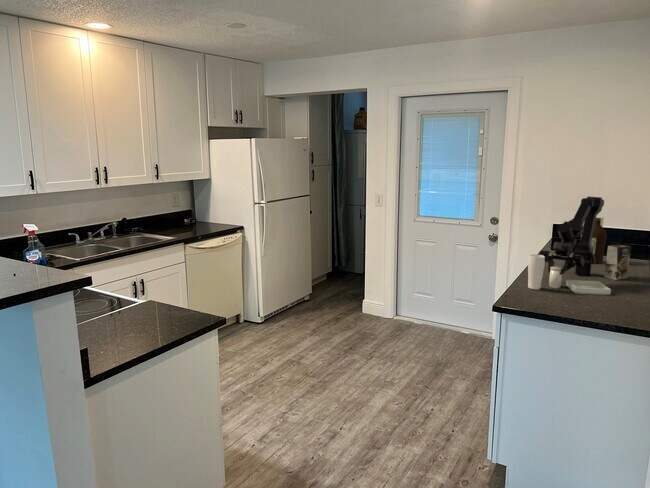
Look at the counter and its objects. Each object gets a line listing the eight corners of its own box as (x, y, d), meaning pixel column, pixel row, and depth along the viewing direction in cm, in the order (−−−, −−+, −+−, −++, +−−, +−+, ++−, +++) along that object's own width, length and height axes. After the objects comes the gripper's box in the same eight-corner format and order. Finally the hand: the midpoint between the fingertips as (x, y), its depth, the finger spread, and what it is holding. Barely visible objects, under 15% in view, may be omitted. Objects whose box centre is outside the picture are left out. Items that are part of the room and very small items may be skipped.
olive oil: (591, 259, 285) (595, 216, 281) (608, 263, 276) (613, 218, 271) (577, 261, 281) (582, 217, 276) (594, 264, 271) (599, 219, 267)
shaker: (558, 285, 229) (560, 266, 228) (562, 288, 224) (564, 269, 223) (547, 284, 230) (549, 266, 228) (550, 287, 225) (552, 268, 224)
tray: (598, 286, 228) (599, 281, 227) (610, 295, 214) (610, 289, 214) (566, 285, 230) (566, 279, 230) (575, 293, 217) (576, 287, 216)
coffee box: (616, 280, 239) (620, 247, 236) (603, 277, 244) (607, 245, 241) (627, 278, 243) (631, 245, 240) (615, 275, 249) (618, 243, 246)
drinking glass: (541, 287, 226) (544, 254, 224) (542, 291, 220) (545, 257, 217) (525, 285, 228) (528, 253, 226) (526, 289, 222) (529, 256, 219)
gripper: (542, 232, 232) (530, 259, 227) (584, 238, 219) (572, 266, 214) (547, 247, 239) (536, 273, 234) (589, 253, 226) (577, 280, 220)
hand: (554, 273), depth 225 cm, fingers closed on shaker, 5 cm apart
